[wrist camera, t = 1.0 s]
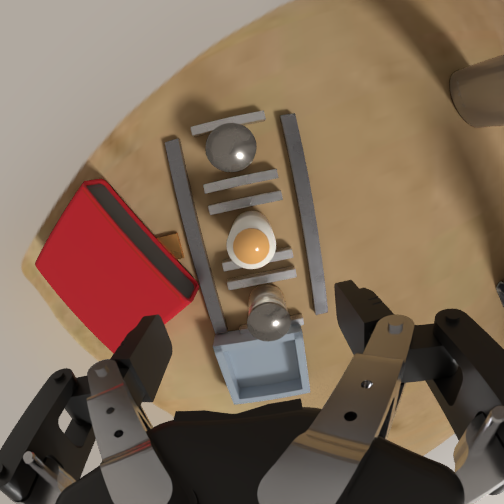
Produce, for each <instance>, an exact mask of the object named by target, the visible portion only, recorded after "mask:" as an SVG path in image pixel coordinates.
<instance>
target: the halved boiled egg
mask: <svg viewBox="0 0 504 504" xmlns="http://www.w3.org/2000/svg"><path fill="white" fill-rule="evenodd" d="M275 250H276V240H275V237H274V234H273V231H272V228H271V225H270V222H269V220H268V219H267V217H266V216H265V215H263V214H262V213H260V212H257V211H246V212H243V213H241V214H240V215H239V216H238V217H237V218H236V219H235V221H234V223H233V225H232V228H231V231H230V233H229V236H228V239H227V251H228V254H229V256H230V258H231V259H232V261H233V262H234V263H235V264H237V265H238V266H240V267H243V268H246V269H257V268H260V267H263V266H264V265H266V264H267V263H268V262H269V261H270V260H271V259H272V258H273V256H274V254H275Z"/></svg>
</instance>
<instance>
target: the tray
mask: <svg viewBox="0 0 504 504" xmlns="http://www.w3.org/2000/svg"><path fill="white" fill-rule="evenodd" d="M213 349H214V352H215V355H216V357H217V360H218V363H219V366H220V369H221V371H222V374H223V377H224V379H225V382H226V385H227V387H228V390H229V392H230V395H231V398H232V400H233V403H234V404H243V403H251V402H258V401H265V400H272V399H278V398H284V397H289V396H295V395H300V394H305V393H309V392H310V386H309V378H308V370H307V363H306V355H305V348H304V341H303V334H302V329H301V326H300V324H295V325H290V329H289V331H288V332H287V333H286V334H285V335H284V336H283V337H282V338H280V339H278V340H275V341H261V340H259V339H257V338H255V337H254V336H252V334H251V333H247V334H241V333H240V330H236V331H229V332H223V333H216V334H215V338H214V343H213Z"/></svg>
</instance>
